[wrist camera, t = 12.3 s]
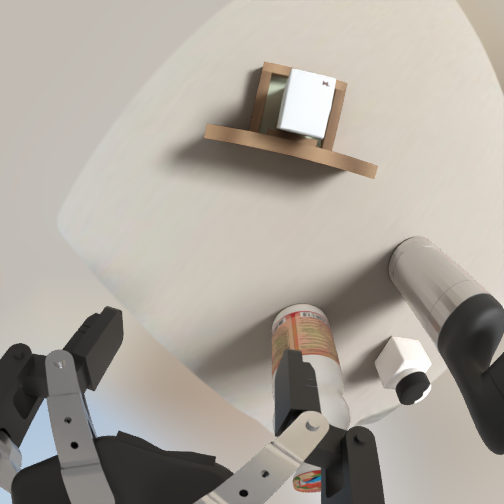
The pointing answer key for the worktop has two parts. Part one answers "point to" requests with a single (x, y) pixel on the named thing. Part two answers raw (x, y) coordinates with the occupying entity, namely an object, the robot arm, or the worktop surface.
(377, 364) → the medicine bottle
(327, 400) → the fruit juice
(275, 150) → the wooden frame stand
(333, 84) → the skincare box
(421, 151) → the worktop surface
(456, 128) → the worktop surface
